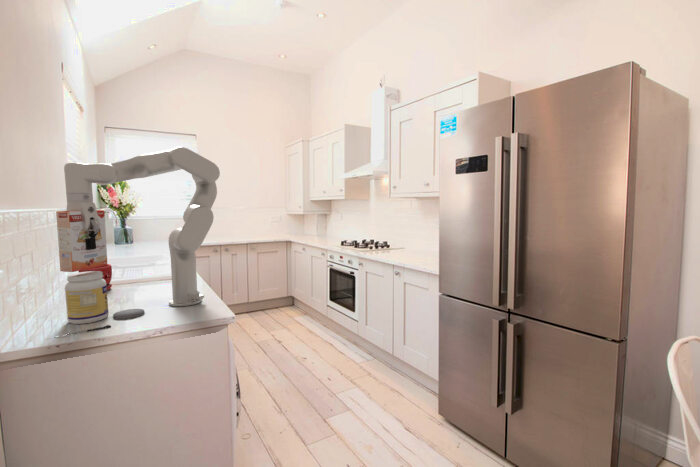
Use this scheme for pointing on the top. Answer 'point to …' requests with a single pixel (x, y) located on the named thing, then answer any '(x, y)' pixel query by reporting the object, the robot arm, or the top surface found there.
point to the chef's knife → (90, 330)
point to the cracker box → (79, 242)
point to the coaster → (128, 314)
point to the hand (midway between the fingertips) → (84, 248)
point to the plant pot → (106, 273)
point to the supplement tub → (86, 297)
